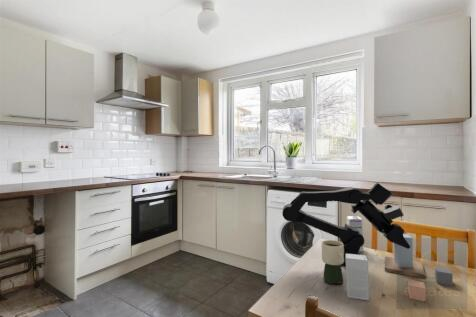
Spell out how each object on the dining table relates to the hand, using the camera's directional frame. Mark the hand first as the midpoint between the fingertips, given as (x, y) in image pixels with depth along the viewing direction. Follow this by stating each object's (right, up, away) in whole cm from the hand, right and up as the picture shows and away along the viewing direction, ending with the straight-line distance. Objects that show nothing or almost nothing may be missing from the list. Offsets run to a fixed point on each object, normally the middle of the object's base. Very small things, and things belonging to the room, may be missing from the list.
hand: (404, 243), depth 96 cm
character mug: (-30, -10, -9) cm, 33 cm away
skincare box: (-26, -10, -18) cm, 33 cm away
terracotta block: (-9, -10, -19) cm, 23 cm away
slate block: (0, -8, 0) cm, 8 cm away
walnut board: (0, -9, 0) cm, 9 cm away
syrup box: (-9, -10, +21) cm, 24 cm away
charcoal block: (+6, -9, -11) cm, 15 cm away
